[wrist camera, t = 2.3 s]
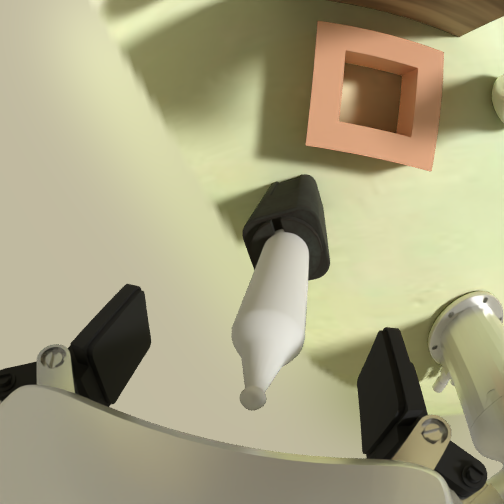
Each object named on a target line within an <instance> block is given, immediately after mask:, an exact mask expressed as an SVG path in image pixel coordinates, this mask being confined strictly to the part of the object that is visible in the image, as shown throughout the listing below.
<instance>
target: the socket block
mask: <svg viewBox="0 0 504 504" xmlns="http://www.w3.org/2000/svg"><path fill="white" fill-rule="evenodd" d="M345 63H349V64H354V65H359V66H364V67H368V68H373V69H377V70H381V71H385V72H389V73H393V74H397V75H401V76H402V83H401V95H400V105H399V114H398V122H397V130H396V133H392V132H387V131H383V130H379V129H374V128H370V127H365V126H360V125H355V124H350V123H345V122H339V115H340V106H341V97H342V87H343V76H344V64H345ZM443 63H444V52H442V51H439V50H436V49H434V48H431V47H428V46H425V45H422V44H419V43H416V42H413V41H410V40H406V39H403V38H399V37H396V36H392V35H388V34H385V33H381V32H376V31H372V30H368V29H363V28H358V27H353V26H348V25H342V24H336V23H330V22H323V21H318V22H317V35H316V48H315V60H314V71H313V81H312V92H311V101H310V111H309V120H308V129H307V138H306V146H312V147H319V148H325V149H331V150H337V151H342V152H348V153H353V154H358V155H363V156H368V157H373V158H378V159H382V160H387V161H391V162H395V163H400V164H404V165H408V166H412V167H416V168H420V169H423V170H427V171H432V165H433V160H434V154H435V148H436V141H437V134H438V126H439V118H440V109H441V98H442V84H443Z"/></svg>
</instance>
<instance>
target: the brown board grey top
mask: <svg viewBox="0 0 504 504" xmlns="http://www.w3.org/2000/svg"><path fill="white" fill-rule="evenodd" d="M328 1H335V2H341V3H347V4H352V5H357V6H362V7H367V8H371V9H376V10H380V11H384V12H388V13H391V14H395V15H399V16H402V17H405V18H409V19H412V20H415V21H418V22H421V23H424V24H427V25H430V26H432V27H435V28H438V29H440V30H443V31H446V32H448V33H451V34H453V35H455V36H458V37H460V36H462V35H464V34H466V33H468V32H470V31H472V30H475V29H477V28H479V27H481V26H483V25H485V24H487V23H489V22H492V21H494V20H496V19H498V18H500V17H503V16H504V0H328Z"/></svg>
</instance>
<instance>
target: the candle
mask: <svg viewBox="0 0 504 504" xmlns="http://www.w3.org/2000/svg"><path fill="white" fill-rule="evenodd" d="M243 240H244V242H245V245H246V248H247V251H248V254H249V256H250V259H251V262H252V265H253V267H254V273H253V276H252V278H251V281H250V283H249V286H248V288H247V291H246V294H245V296H244V299H243V301H242V304H241V306H240V309H239V311H238V314H237V316H236V319H235V322H234V324H233V327H232V341H233V344H234V347H235V348H236V350H237V352H238V353H239V355H240V356H241V358H242V365H243V374H244V382H245V389H244V390H243V391H242V392H241V394H240V401H241V403H242V405H243V406H244V407H245V408H246V409H248V410H257V409H259V408H261V407H262V406H264V404H265V403H266V395H265V391H266V390H267V388H268V387H269V385H270V383H271V382H272V381H273V379H274V378H275V376H276V374H277V373H278V372H279V370H280V368H281V367H283V366H284V365H286V364H288V363H289V362H290V361H291V360H293V359H294V358H295V357H296V356H298V354H299V353H300V351H301V350H302V347H303V344H304V340H305V326H306V310H307V292H308V280H313V279H317V278H320V277H322V276H323V275H324V274H325V273H326V272H327V271H328V269H329V266H330V258H329V249H328V241H327V233H326V225H325V218H324V210H323V205H322V202H321V198H320V195H319V191H318V187H317V184H316V181H315V180H314V178H313V177H311V176H310V175H305V174H304V175H301V176H300V177H299V178H295V179H291V180H288V181H284V182H280V183H278V182H275V183H273V184H272V185H271V186H270V187H269V189H268V190H267V192H266V194H265V195H264V197H263V198H262V200H261V201H260V203H259V204H258V206H257V207H256V209H255V211H254V212H253V214H252V215H251V217H250V218H249V220H248V221H247V223H246V225H245V226H244V229H243Z"/></svg>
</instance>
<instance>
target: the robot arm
mask: <svg viewBox="0 0 504 504" xmlns="http://www.w3.org/2000/svg"><path fill="white" fill-rule="evenodd" d="M503 316H504V315H503V308H502V305H501V303H500V302H499V300H498V299H497V298H496V297H495V296H494V295H493V294H491V293H489V292H484V291H476V292H472V293H469V294H466V295H464V296H462V297H460V298H458V299H457V300H455V301H454V302H452V303H451V304H450V305H449V306H447V307H446V309H445V310H444V311H443V312H442V313H441V314H440V315H439V316H438V318H437V319H436V321H435V322H434V324H433V326H432V328H431V331H430V333H429V338H428V348H429V351H430V354H431V356H432V358H433V359H434V360H435V361H436V362H437V363H439V364H441V365H442V369H441V371H440V372H441V375H440V376H439V377H438V378H437V380H436V381H435V383H434V384H433V390H434V391H436V392H438V393H440V392H442V391H443V389H444V388H445V386H446V385H447V383H448V381H449V379H451V381H450V383H451V384H452V385H453V386H455V388H456V391H457V394H458V397H459V400H460V403H461V405H462V408H463V412H464V415H465V418H466V421H467V424H468V428H469V431H470V435H471V438H472V441H473V444H474V446H475V448H476V450H477V451H478V452H479V453H480V454H481V455H483V456H484V457H487V458H489V459H492V460H496V461H499V462H501V463H502V464H503V468H502V469H501V470H500V471H499V472H498V473H497V474H495V475H494V476H492V477H491V478H490V479H488V480H487V471H486V468H485V466H484V465H483V464H482V463H481V462H480V461H479V460H477V459H476V458H474V457H473V456H471V455H470V454H468V453H467V452H466V451H464V450H463V449H461V448H460V447H459V446H457V445H456V444H455V443H453V442H452V441H450V439H451V428H450V426H449V424H448V423H447V421H446V420H444V419H443V418H442V417H439V416H437V415H428V414H427V410H426V406H425V402H424V399H423V395H422V391H421V388H420V384H419V381H418V378H417V374H416V371H415V368H414V365H413V364H412V363H411V362H410V360H409V357H408V354H407V351H406V347H405V344H404V341H403V338H402V335H401V332H400V330H399V329H397V328H388V327H385V328H384V329H383V331H379V332H378V334H377V337H376V339H375V341H374V344H373V346H372V348H371V351H370V353H369V355H368V357H367V360H366V362H365V364H364V366H363V368H362V371H361V373H360V375H359V377H358V381H357V388H358V398H359V409H360V421H361V436H362V451H363V454H366V456H367V459H358V458H335V457H320V456H308V455H298V454H289V453H281V452H274V451H267V450H261V449H255V448H249V447H244V446H238V445H233V444H229V443H224V442H219V441H215V440H210V439H207V438H202V437H199V436H195V435H191V434H187V433H184V432H180V431H177V430H173V429H169V428H167V427H163V426H160V425H157V424H154V423H151V422H148V421H145V420H142V419H139V418H136V417H134V416H131V415H128V414H126V413H123V412H120V411H117V410H115V409H112V408H110V407H109V406H110V405H111V404H114V403H115V402H116V401H117V399H118V397H119V396H120V394H121V392H122V391H123V389H124V388H125V386H126V384H127V383H128V381H129V379H130V378H131V376H132V375H133V373H134V371H135V370H136V368H137V367H138V365H139V363H140V362H141V360H142V359H143V357H144V356H145V354H146V353H147V351H148V349H149V348H150V345H151V336H150V330H149V323H148V316H147V310H146V301H145V294H144V291H141V288H140V287H139V286H135V285H130V284H126V285H125V286H124V287H123V288H122V289H121V290H120V291H119V292H118V293H117V294H116V295H115V296H114V297H113V298H112V299H111V300H110V301H109V302H108V303H107V304H106V305H105V307H104V308H103V309H102V310H101V311H100V312H99V313H98V314H97V315H96V316H95V317H94V318H93V319H92V320H91V321H90V323H89V324H88V325H87V326H86V327H85V328H84V329H83V330H82V331H81V332H80V334H79V335H78V336H77V337H76V338H75V339H74V340H73V341H72V342H71V345H70V347H69V348H68V349H67V348H66V347H65V346H63V345H59V344H56V345H50V346H47V347H46V348H44V349H43V350H42V351H41V352H40V353H39V355H38V357H37V362H33V363H29V364H24V365H20V366H15V367H10V368H5V369H3V370H0V504H504V326H503V324H502V323H503Z"/></svg>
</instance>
